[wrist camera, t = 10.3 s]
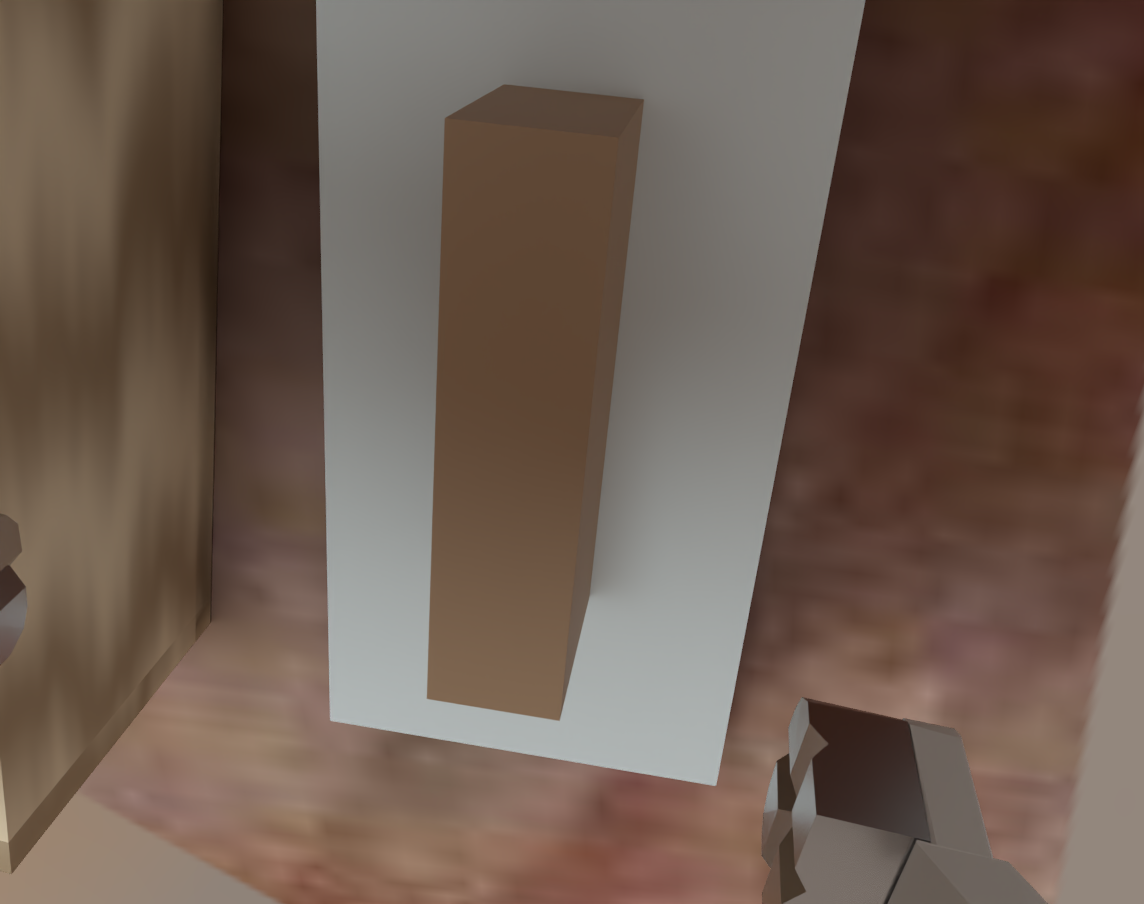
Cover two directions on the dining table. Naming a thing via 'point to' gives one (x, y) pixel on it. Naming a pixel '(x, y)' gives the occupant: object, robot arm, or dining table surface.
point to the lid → (562, 355)
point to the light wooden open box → (103, 373)
